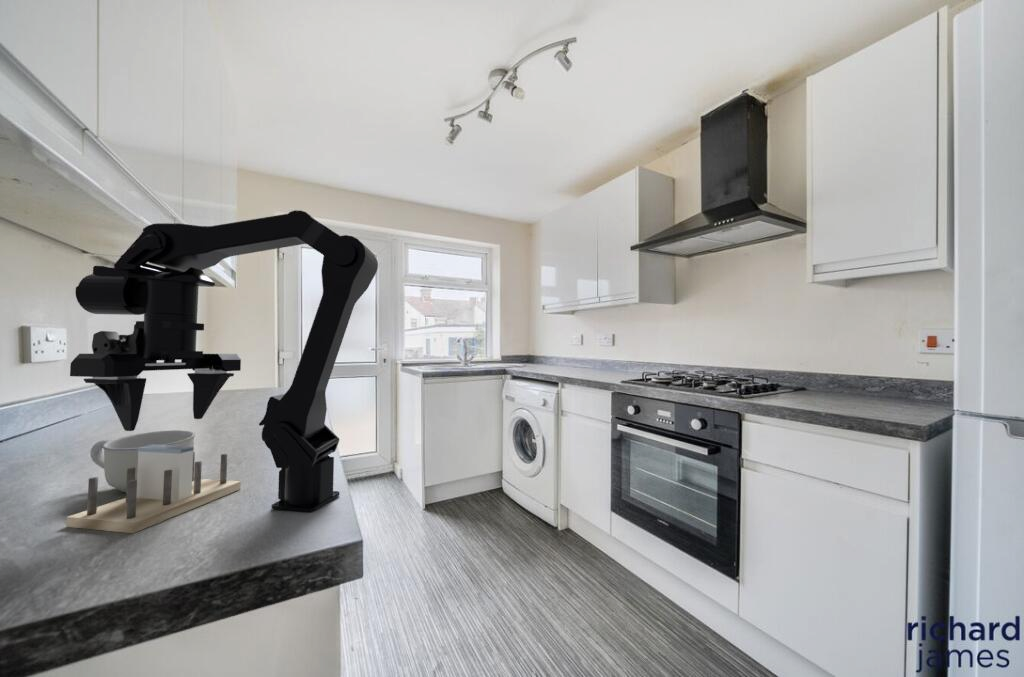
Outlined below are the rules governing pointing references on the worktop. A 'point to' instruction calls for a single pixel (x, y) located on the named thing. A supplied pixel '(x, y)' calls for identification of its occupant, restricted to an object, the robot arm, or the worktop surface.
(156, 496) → the white square block
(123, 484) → the teacup
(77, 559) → the worktop surface
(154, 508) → the dish rack
